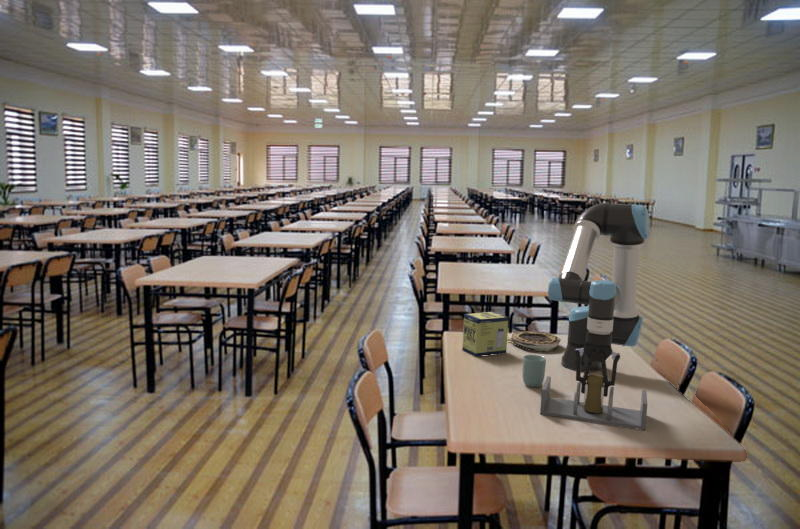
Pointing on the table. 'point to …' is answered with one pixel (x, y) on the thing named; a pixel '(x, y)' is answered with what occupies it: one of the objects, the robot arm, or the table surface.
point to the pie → (535, 340)
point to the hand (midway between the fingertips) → (593, 404)
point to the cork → (594, 393)
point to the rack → (577, 412)
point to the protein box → (485, 333)
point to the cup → (533, 370)
